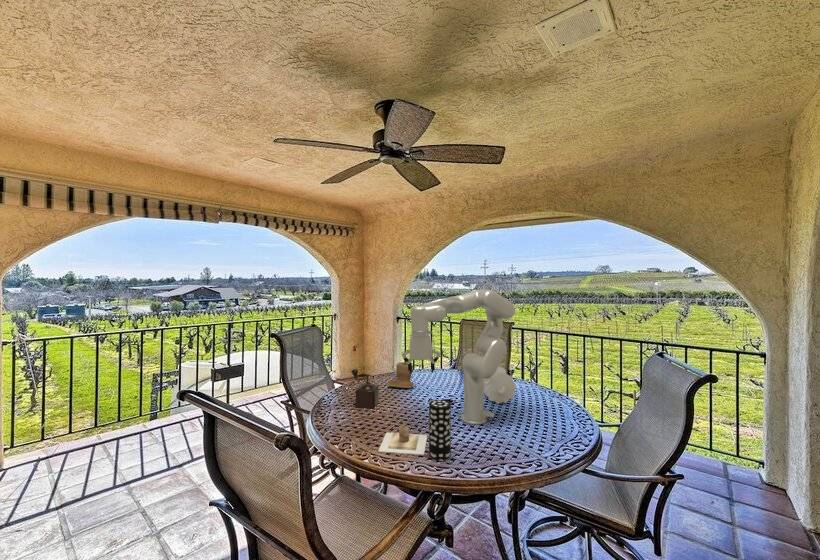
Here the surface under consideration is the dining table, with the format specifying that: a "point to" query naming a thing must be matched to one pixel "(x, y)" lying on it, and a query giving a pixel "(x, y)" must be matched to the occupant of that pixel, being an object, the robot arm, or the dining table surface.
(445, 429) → the spotted tube
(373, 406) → the pepper mill
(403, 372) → the tan stepped piece
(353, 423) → the dining table surface
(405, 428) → the wooden lid
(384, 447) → the white flat block
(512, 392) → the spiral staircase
